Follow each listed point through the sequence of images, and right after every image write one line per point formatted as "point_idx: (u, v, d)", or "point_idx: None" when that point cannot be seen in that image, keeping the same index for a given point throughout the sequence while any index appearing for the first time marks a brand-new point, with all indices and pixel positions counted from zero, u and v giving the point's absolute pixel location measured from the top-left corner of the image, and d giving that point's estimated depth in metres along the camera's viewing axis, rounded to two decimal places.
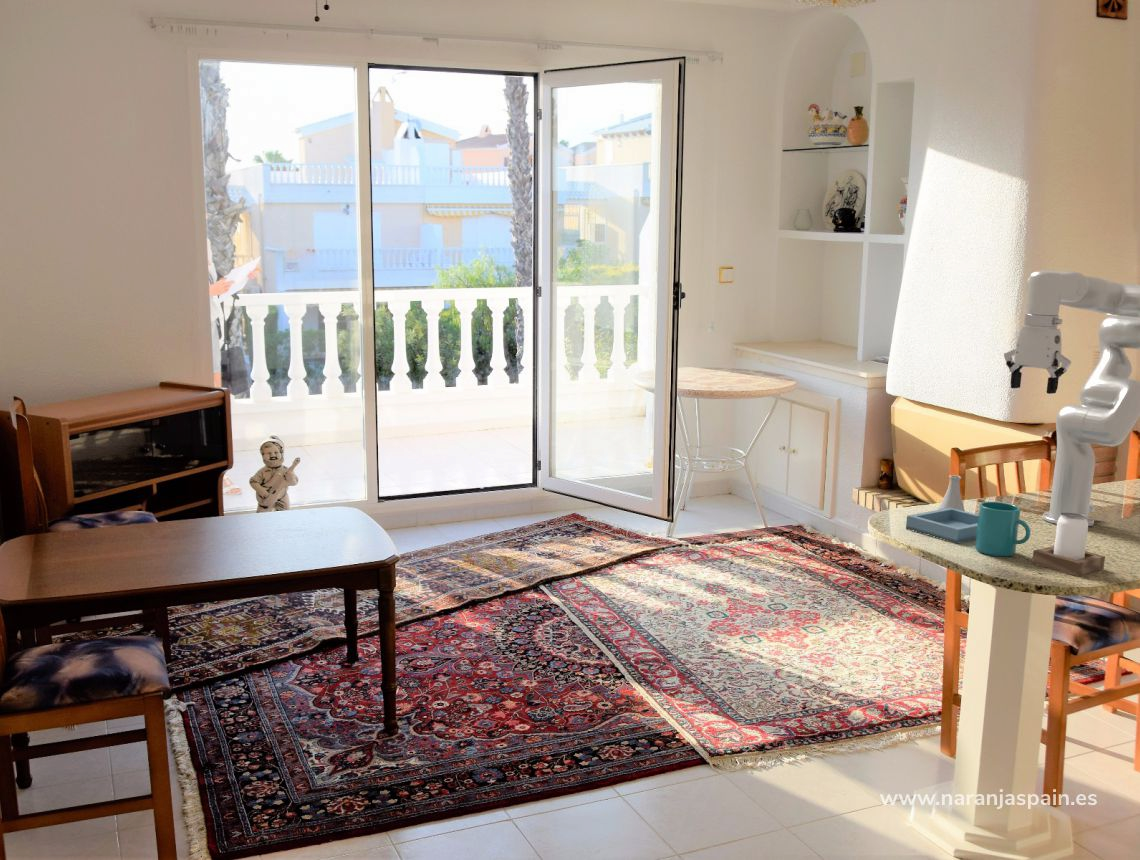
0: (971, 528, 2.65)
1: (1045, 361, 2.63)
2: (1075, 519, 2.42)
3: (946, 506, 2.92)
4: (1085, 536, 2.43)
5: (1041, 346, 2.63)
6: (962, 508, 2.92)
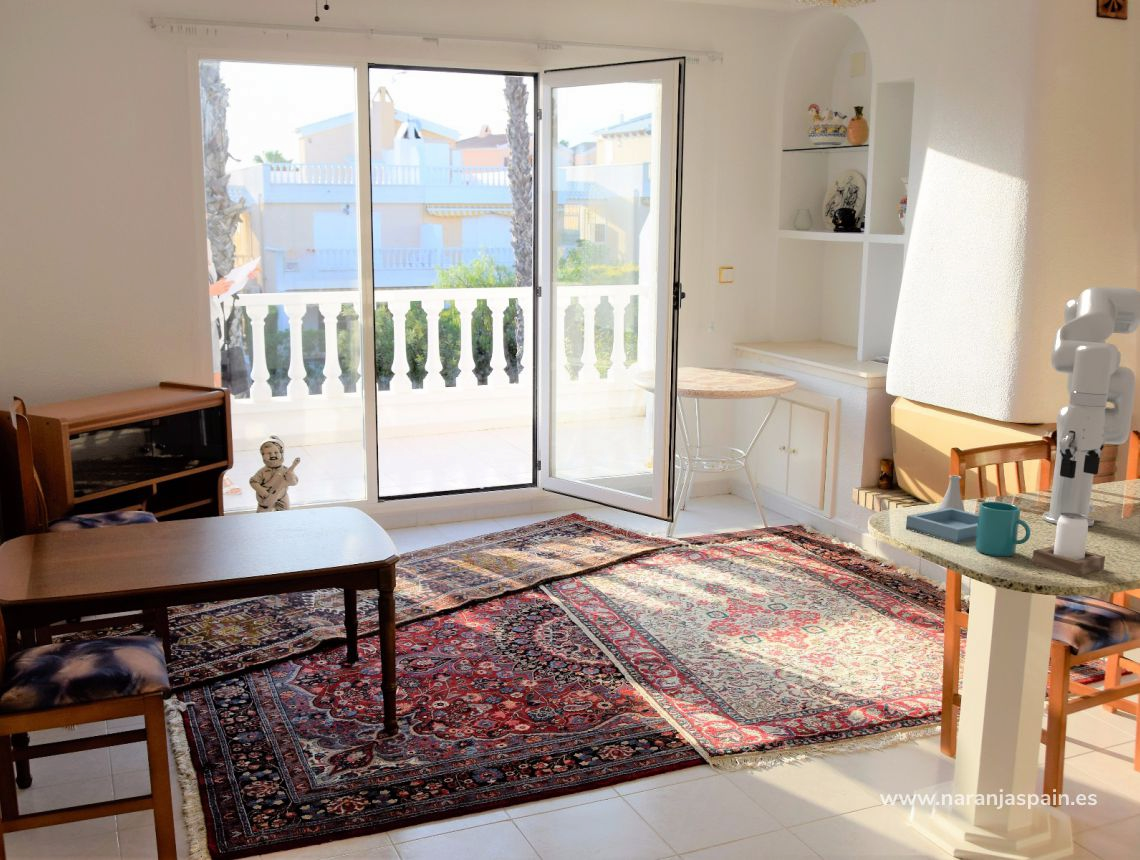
0: (971, 528, 2.65)
1: (1100, 441, 2.42)
2: (1075, 519, 2.42)
3: (946, 506, 2.92)
4: (1085, 536, 2.43)
5: (1100, 426, 2.40)
6: (962, 508, 2.92)
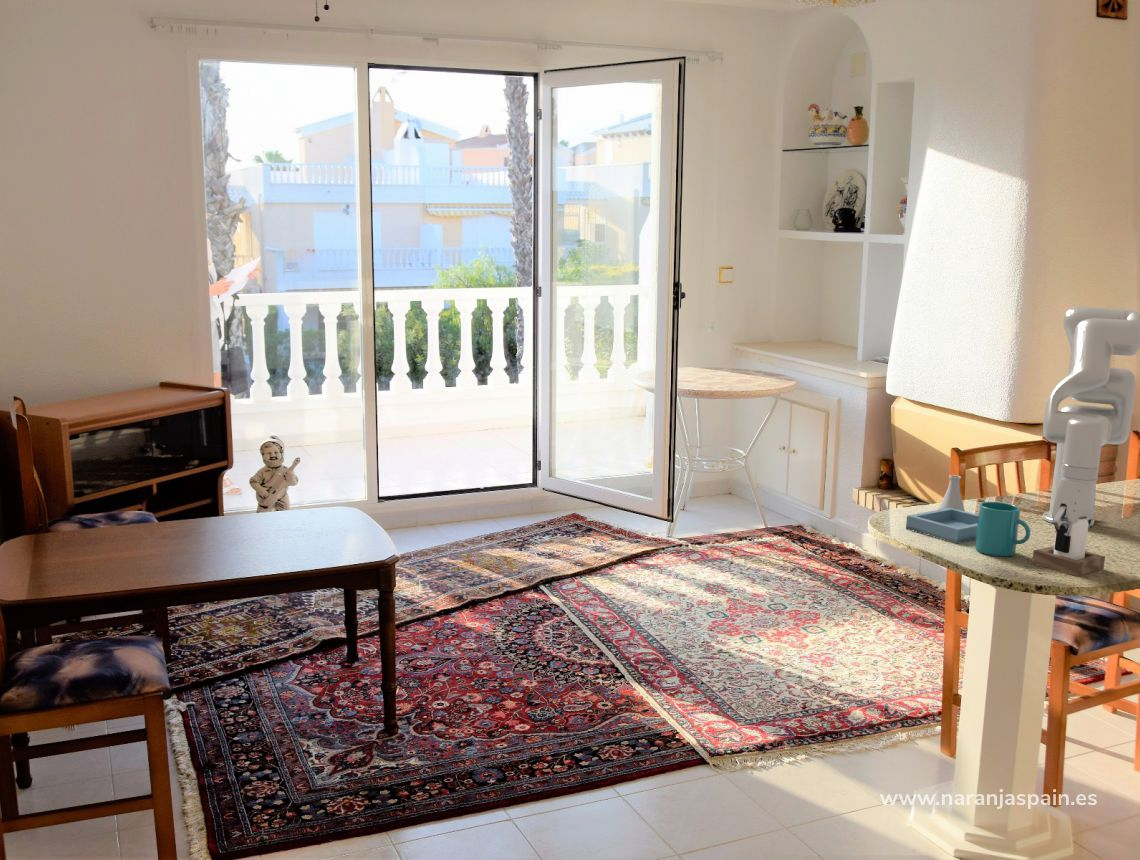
0: (971, 528, 2.65)
1: (1092, 512, 2.45)
2: None
3: (946, 506, 2.92)
4: (1085, 536, 2.43)
5: (1091, 498, 2.44)
6: (962, 508, 2.92)
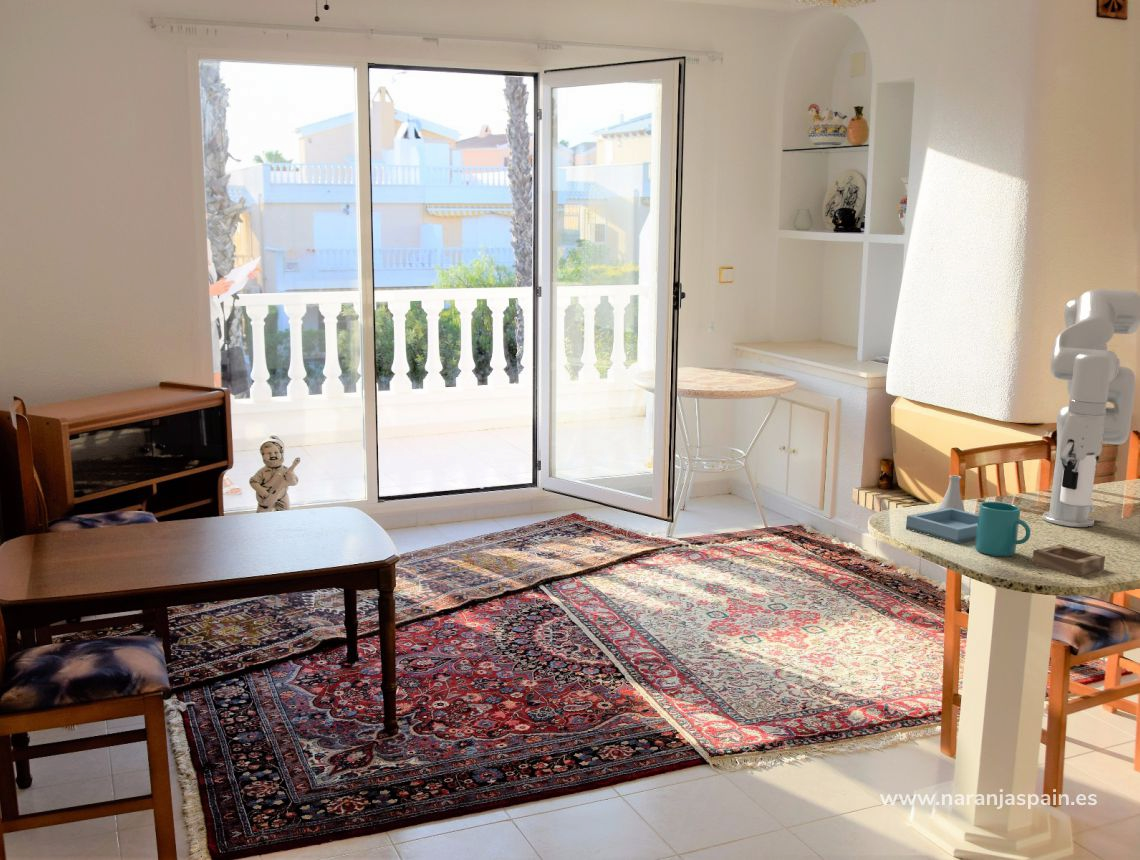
0: (971, 528, 2.65)
1: (1099, 449, 2.43)
2: None
3: (946, 506, 2.92)
4: (1093, 472, 2.41)
5: (1099, 434, 2.41)
6: (962, 508, 2.92)
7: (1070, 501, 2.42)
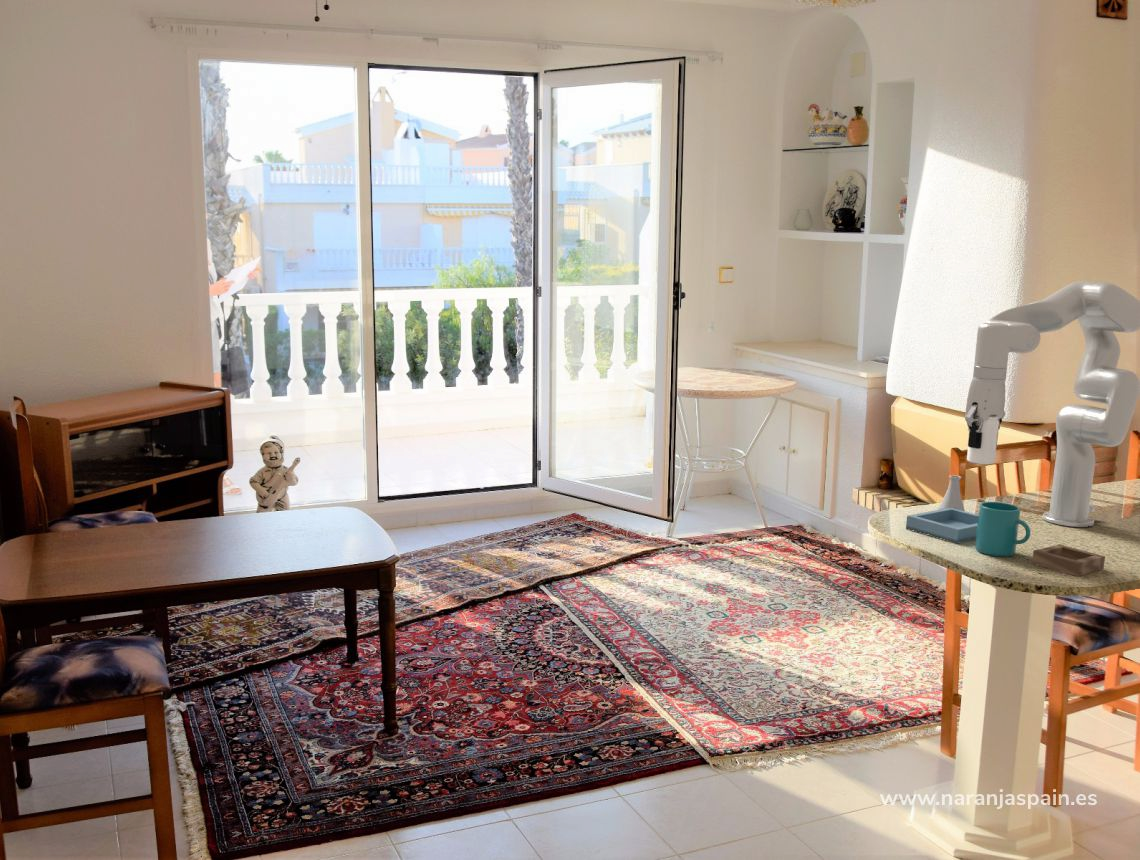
0: (971, 528, 2.65)
1: (1002, 411, 2.64)
2: None
3: (946, 506, 2.92)
4: (995, 433, 2.61)
5: (1001, 398, 2.62)
6: (962, 508, 2.92)
7: (975, 460, 2.63)
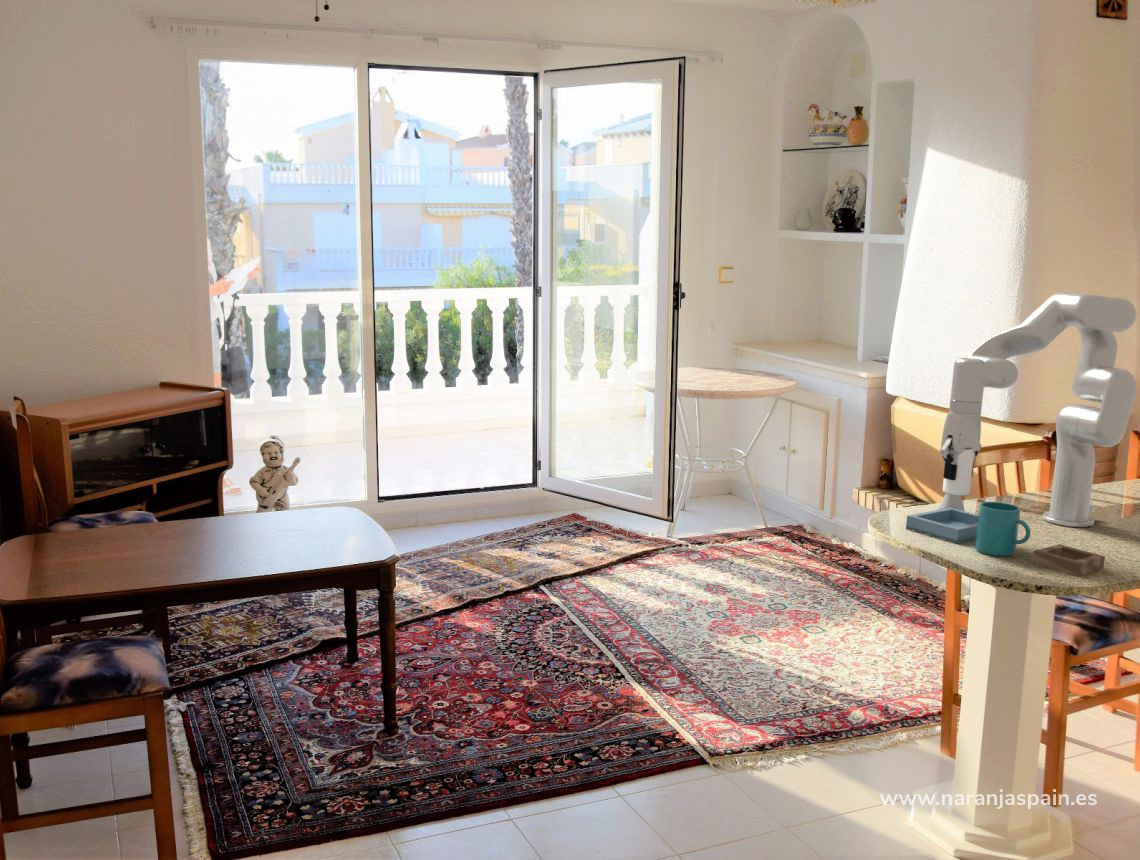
0: (971, 528, 2.65)
1: (977, 444, 2.70)
2: None
3: (946, 506, 2.92)
4: (970, 465, 2.68)
5: (976, 431, 2.68)
6: (962, 508, 2.92)
7: (950, 491, 2.69)
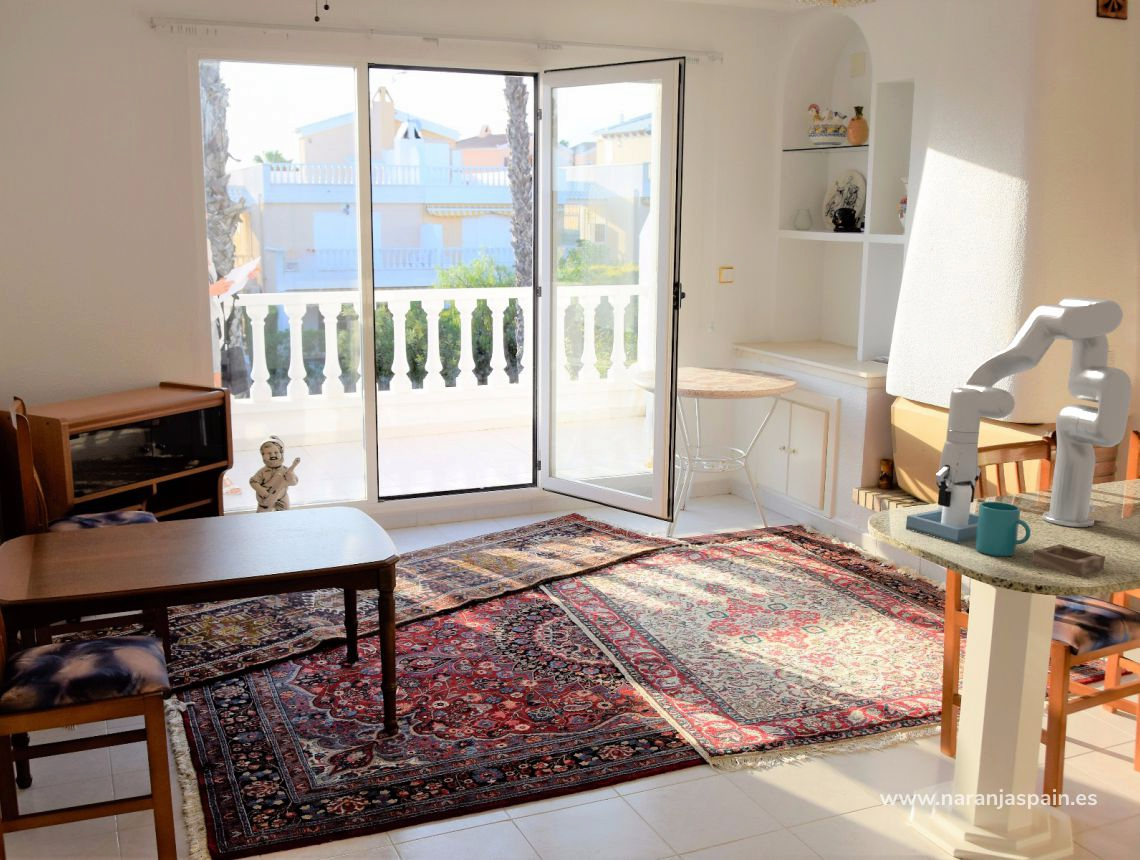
0: (971, 528, 2.65)
1: (974, 473, 2.71)
2: (959, 486, 2.68)
3: None
4: (968, 501, 2.69)
5: (973, 460, 2.70)
6: None
7: None
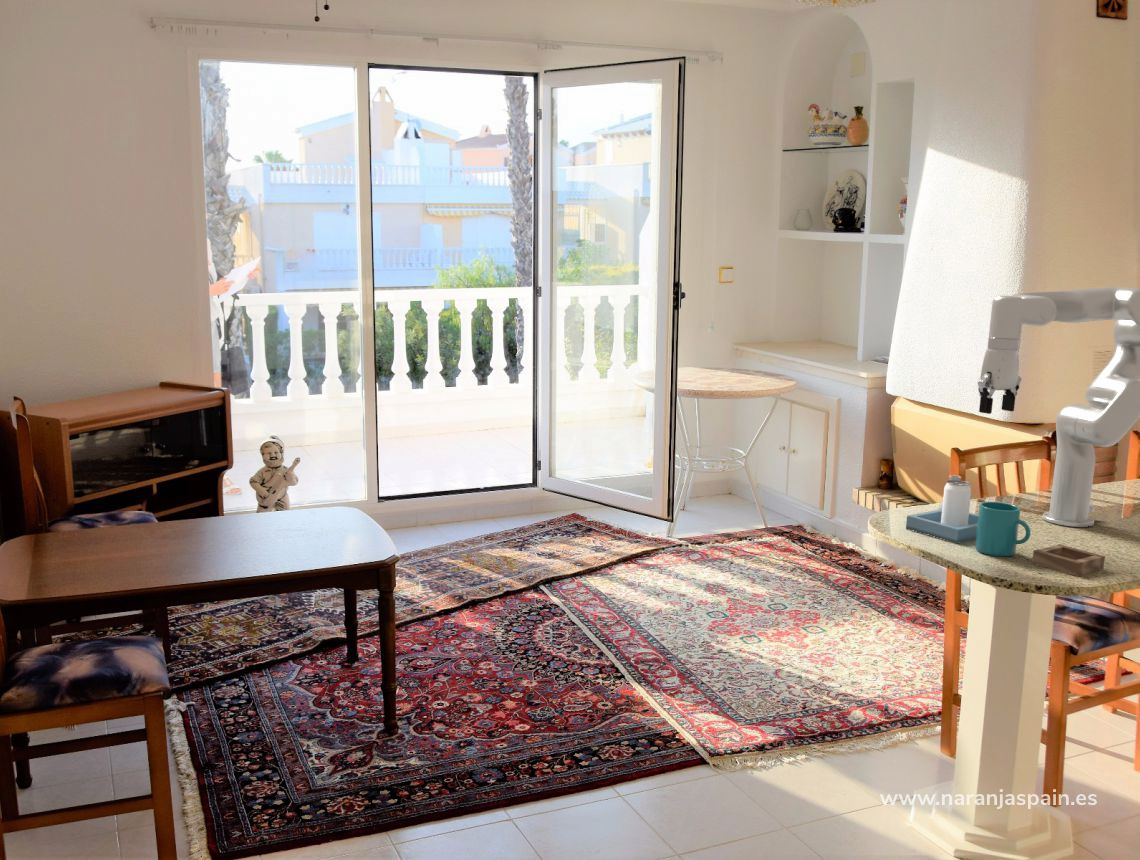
0: (971, 528, 2.65)
1: (1015, 381, 2.73)
2: (958, 485, 2.69)
3: None
4: (968, 501, 2.69)
5: (1015, 368, 2.72)
6: None
7: None
